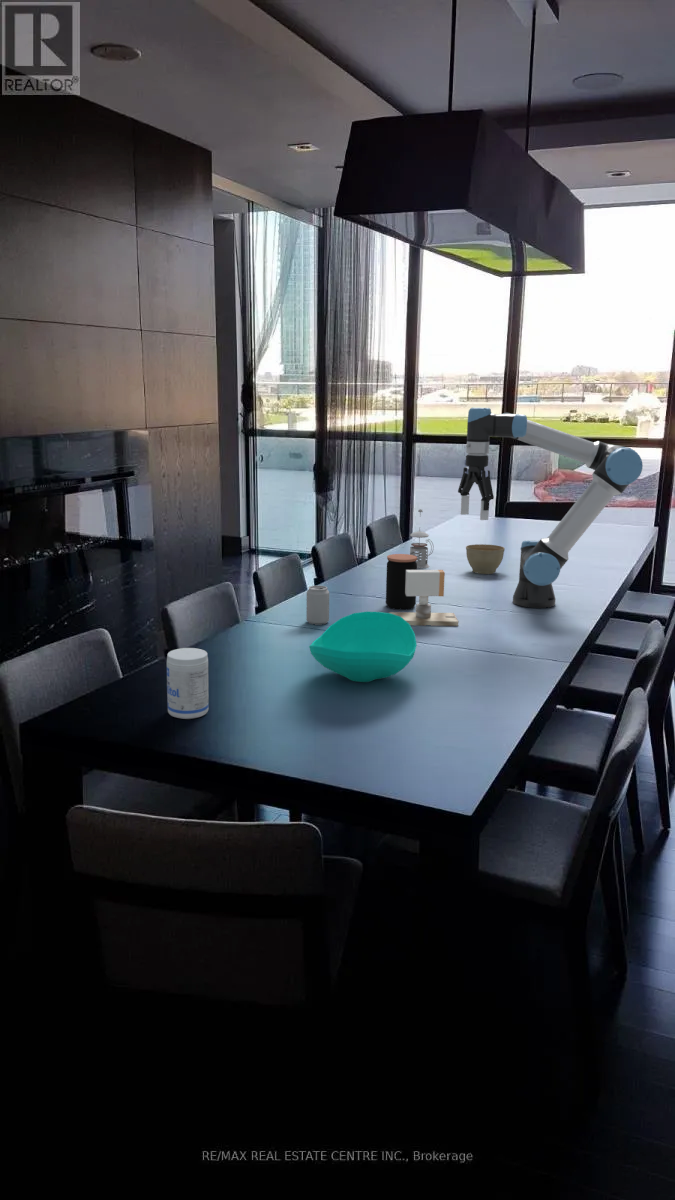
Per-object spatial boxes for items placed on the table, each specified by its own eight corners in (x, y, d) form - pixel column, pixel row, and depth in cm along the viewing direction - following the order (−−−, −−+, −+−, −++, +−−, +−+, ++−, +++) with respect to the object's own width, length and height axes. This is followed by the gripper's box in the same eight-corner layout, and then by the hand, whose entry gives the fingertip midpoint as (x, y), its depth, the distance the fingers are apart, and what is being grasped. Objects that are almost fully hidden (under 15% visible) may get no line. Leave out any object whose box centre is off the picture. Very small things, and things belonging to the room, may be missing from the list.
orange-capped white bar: (404, 602, 287) (405, 569, 284) (441, 602, 288) (442, 569, 285) (406, 605, 283) (407, 572, 280) (443, 605, 284) (444, 572, 281)
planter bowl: (508, 571, 368) (510, 546, 365) (494, 578, 354) (495, 552, 352) (474, 567, 376) (475, 542, 373) (458, 573, 363) (459, 547, 360)
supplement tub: (159, 713, 203) (157, 653, 199) (190, 702, 210) (189, 644, 206) (186, 723, 197) (184, 662, 193) (217, 712, 204) (216, 652, 200)
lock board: (453, 617, 292) (454, 601, 291) (458, 625, 281) (459, 609, 280) (388, 616, 292) (389, 600, 291) (391, 625, 281) (391, 608, 280)
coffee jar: (413, 611, 299) (415, 560, 295) (383, 609, 301) (384, 558, 297) (417, 603, 310) (419, 554, 305) (387, 602, 312) (389, 553, 307)
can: (332, 621, 285) (333, 586, 282) (323, 626, 278) (323, 590, 275) (312, 618, 288) (312, 583, 285) (302, 623, 281) (302, 588, 278)
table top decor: (399, 708, 208) (401, 656, 204) (290, 697, 214) (290, 646, 211) (425, 660, 245) (427, 615, 242) (331, 651, 252) (332, 607, 248)
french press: (414, 563, 383) (416, 506, 377) (437, 566, 376) (439, 509, 370) (402, 566, 375) (404, 509, 369) (426, 569, 368) (428, 511, 362)
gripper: (450, 451, 300) (447, 512, 305) (486, 457, 277) (482, 522, 282) (469, 451, 302) (466, 511, 308) (506, 457, 280) (502, 521, 285)
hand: (474, 517), depth 295 cm, fingers open, 13 cm apart
